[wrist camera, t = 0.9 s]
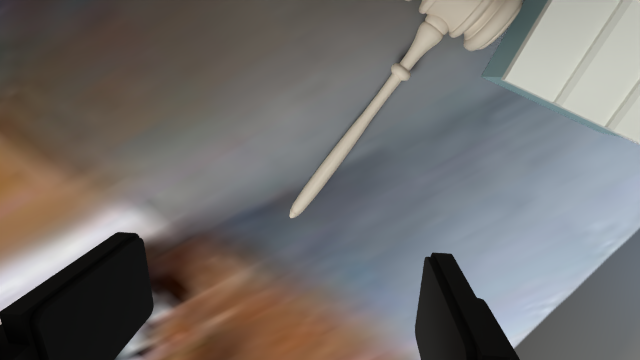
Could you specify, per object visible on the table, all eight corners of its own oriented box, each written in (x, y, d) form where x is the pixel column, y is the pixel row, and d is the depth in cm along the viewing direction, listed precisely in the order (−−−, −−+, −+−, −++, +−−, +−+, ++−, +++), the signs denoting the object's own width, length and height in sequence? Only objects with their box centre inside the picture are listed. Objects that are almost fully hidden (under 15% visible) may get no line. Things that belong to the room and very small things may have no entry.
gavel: (327, 227, 44) (514, 2, 32) (321, 253, 38) (545, -8, 26) (263, 183, 43) (432, -66, 31) (247, 204, 37) (446, -91, 25)
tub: (533, -15, 31) (574, -34, 26) (660, 47, 32) (728, 42, 26) (481, 76, 34) (507, 77, 28) (599, 132, 35) (647, 143, 29)
